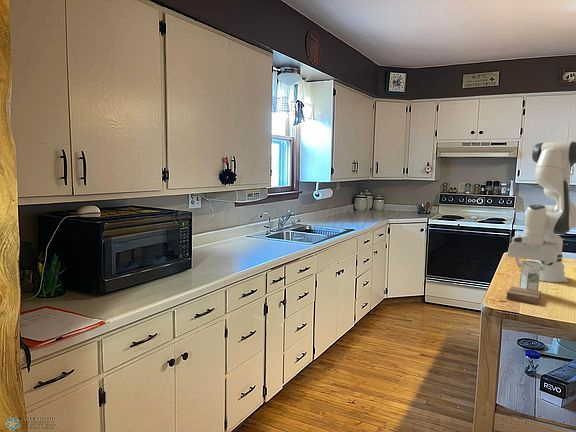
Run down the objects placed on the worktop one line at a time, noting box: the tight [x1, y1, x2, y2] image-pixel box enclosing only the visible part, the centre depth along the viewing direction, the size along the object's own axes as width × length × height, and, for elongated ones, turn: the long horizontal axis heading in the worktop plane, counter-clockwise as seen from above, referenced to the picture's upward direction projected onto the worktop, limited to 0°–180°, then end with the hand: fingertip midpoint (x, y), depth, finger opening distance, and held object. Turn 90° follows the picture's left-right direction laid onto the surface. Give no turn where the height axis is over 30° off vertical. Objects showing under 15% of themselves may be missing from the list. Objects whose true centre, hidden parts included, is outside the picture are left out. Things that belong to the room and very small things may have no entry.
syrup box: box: [518, 260, 541, 291], centre depth 202 cm, size 6×6×14 cm
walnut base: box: [506, 286, 542, 306], centre depth 191 cm, size 12×12×3 cm
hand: (530, 268), depth 201 cm, fingers open, 8 cm apart
